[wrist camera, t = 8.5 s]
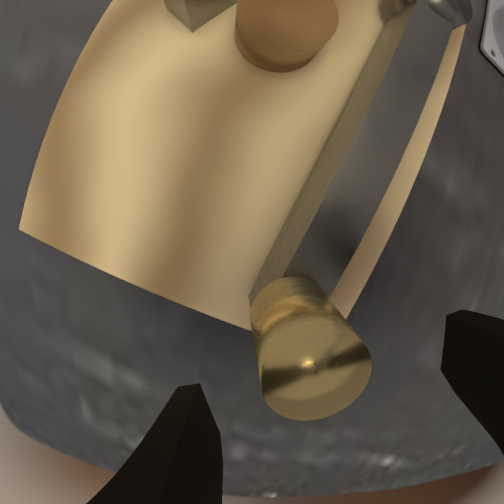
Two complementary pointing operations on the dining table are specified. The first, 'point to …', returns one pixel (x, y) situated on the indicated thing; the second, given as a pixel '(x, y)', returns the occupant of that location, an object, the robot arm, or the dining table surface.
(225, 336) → the dining table surface
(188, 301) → the board
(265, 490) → the dining table surface
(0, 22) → the dining table surface
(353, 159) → the press lever
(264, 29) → the brown cylinder
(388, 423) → the dining table surface
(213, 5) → the gray block
